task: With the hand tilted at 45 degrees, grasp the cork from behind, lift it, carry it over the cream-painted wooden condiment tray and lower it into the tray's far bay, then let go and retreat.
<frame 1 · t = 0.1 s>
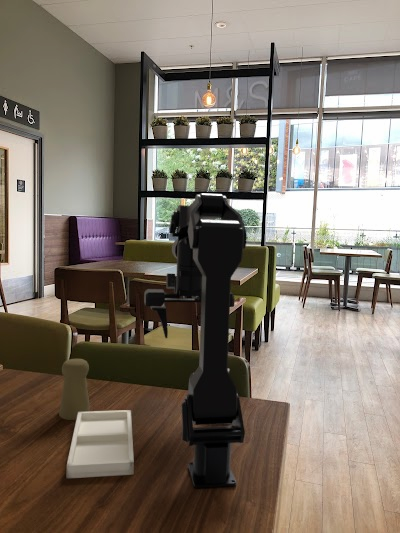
hand: (187, 337, 96), 15 cm above the table, tool pointing down, fingers open, 9 cm apart
flask: (219, 417, 91), on the table
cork: (74, 414, 90), on the table
condiment tray: (103, 432, 82), on the table
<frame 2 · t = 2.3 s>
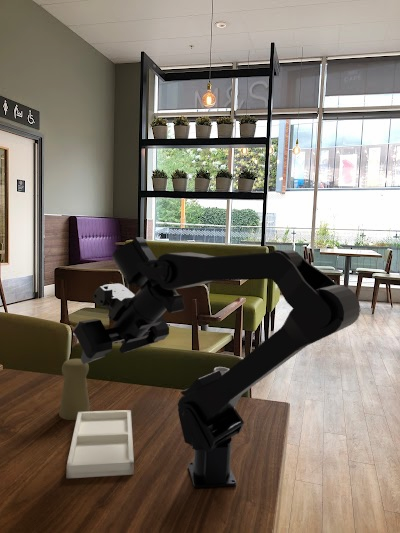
hand: (102, 356, 84), 13 cm above the table, tool tilted 45°, fingers open, 9 cm apart
nothing on the table moved.
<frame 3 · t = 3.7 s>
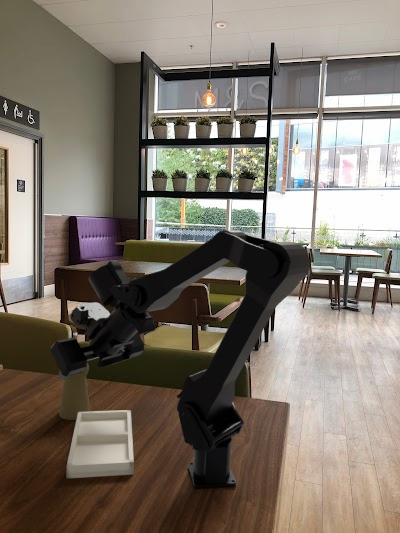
hand: (80, 371, 88), 9 cm above the table, tool tilted 45°, fingers open, 9 cm apart
nothing on the table moved.
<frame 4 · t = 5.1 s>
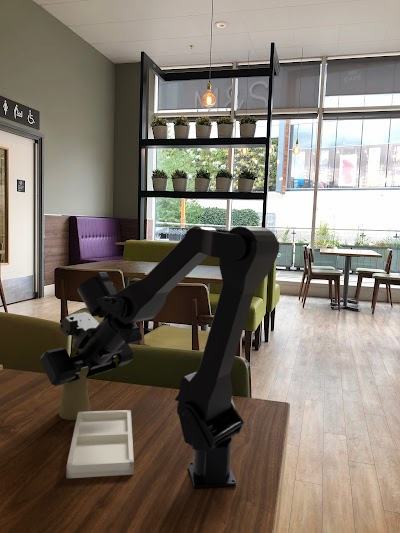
hand: (70, 379, 90), 7 cm above the table, tool tilted 45°, fingers closed on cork, 5 cm apart
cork: (74, 414, 90), on the table, touching gripper
everything else where it was.
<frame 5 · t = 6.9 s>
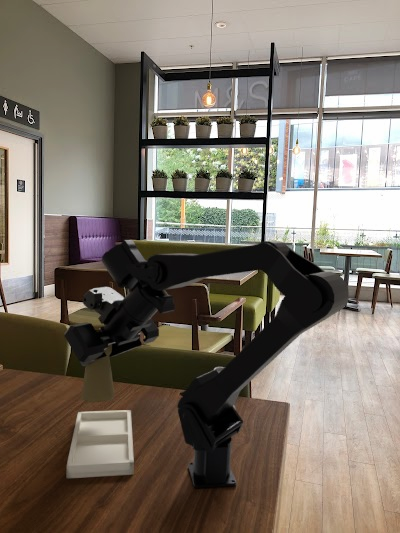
hand: (93, 360, 84), 13 cm above the table, tool tilted 45°, fingers closed on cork, 5 cm apart
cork: (98, 397, 83), point 6 cm above the table, touching gripper
everything else where it was.
when the fingers open (9 cm above the table, at t = 8.6 s): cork drops 1 cm, resting on condiment tray.
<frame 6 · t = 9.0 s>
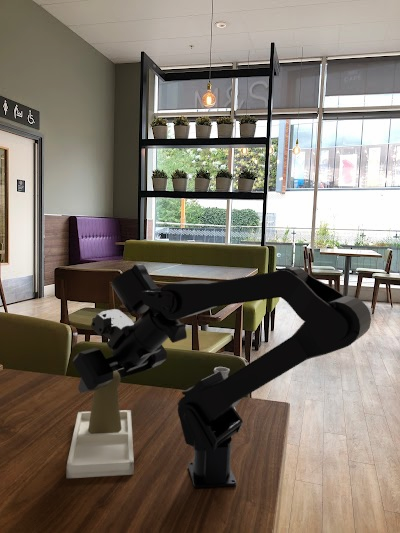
hand: (99, 383, 82), 9 cm above the table, tool tilted 45°, fingers open, 9 cm apart
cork: (104, 429, 82), point 1 cm above the table, touching condiment tray
everything else where it was.
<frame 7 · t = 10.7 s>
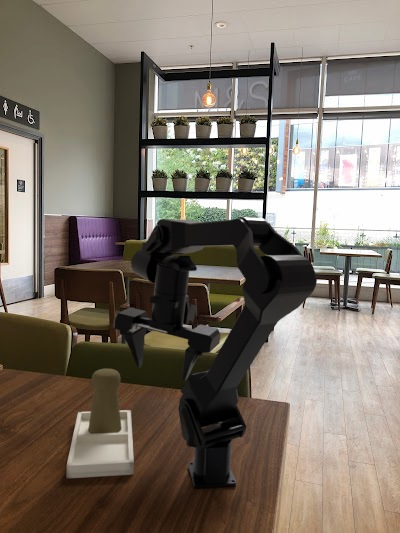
hand: (161, 373, 81), 12 cm above the table, tool pointing down, fingers open, 9 cm apart
nothing on the table moved.
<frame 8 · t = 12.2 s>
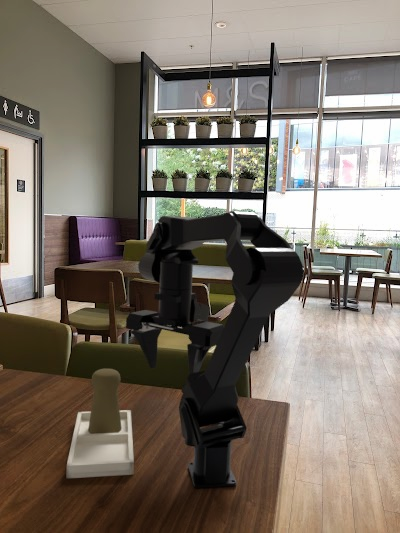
hand: (172, 373, 80), 12 cm above the table, tool pointing down, fingers open, 9 cm apart
nothing on the table moved.
at the end: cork 0.2 cm from the condiment tray (horizontally); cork tilted 0°; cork point 0.6 cm above the table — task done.
